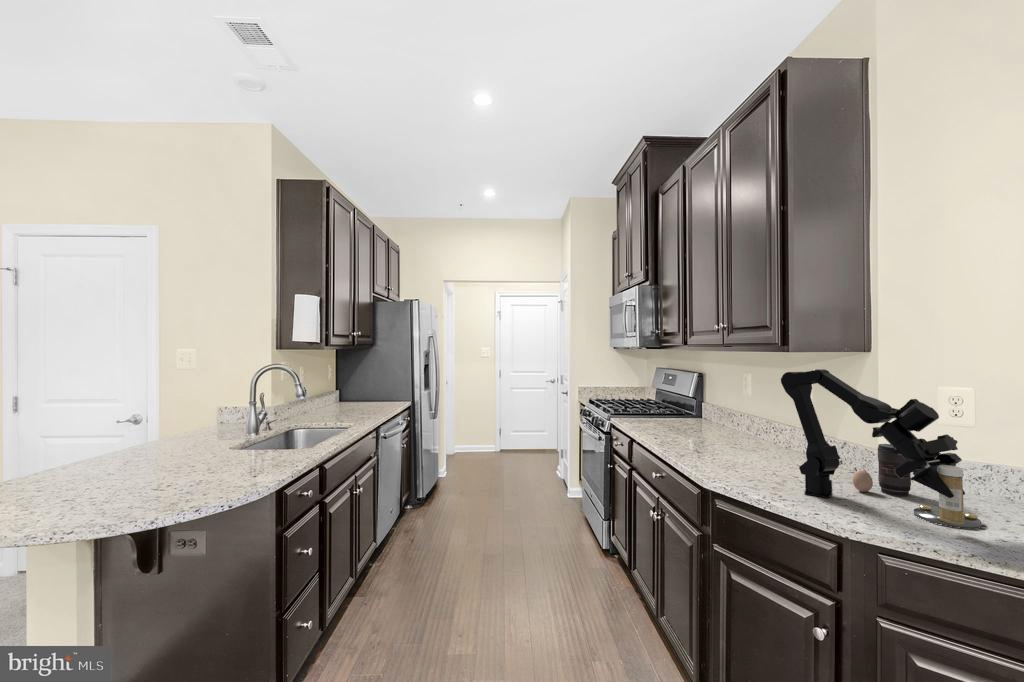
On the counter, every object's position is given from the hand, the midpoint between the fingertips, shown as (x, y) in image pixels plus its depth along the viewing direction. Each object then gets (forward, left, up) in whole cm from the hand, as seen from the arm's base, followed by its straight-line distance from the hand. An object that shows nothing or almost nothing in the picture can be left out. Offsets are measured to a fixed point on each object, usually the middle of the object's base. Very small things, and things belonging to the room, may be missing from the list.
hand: (957, 496), depth 111 cm
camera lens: (-11, +34, -10) cm, 37 cm away
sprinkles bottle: (-1, +1, -7) cm, 7 cm away
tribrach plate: (-1, +13, -9) cm, 16 cm away
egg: (-19, +30, -10) cm, 37 cm away
